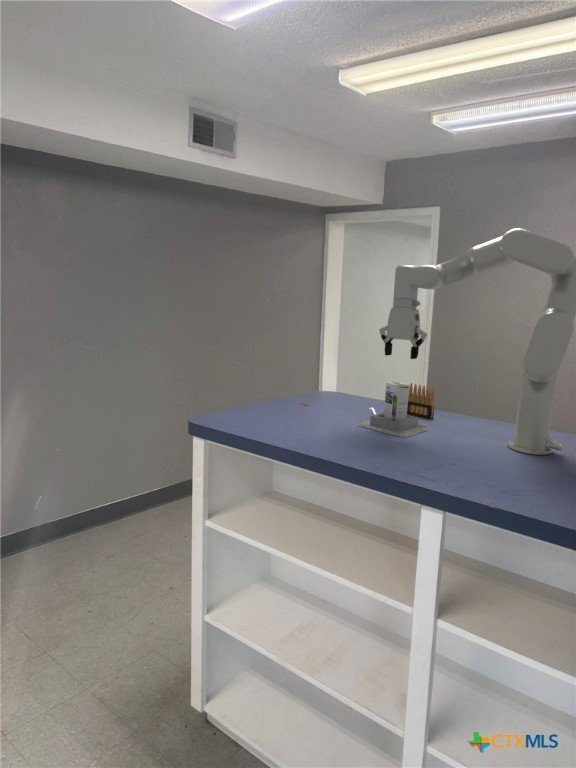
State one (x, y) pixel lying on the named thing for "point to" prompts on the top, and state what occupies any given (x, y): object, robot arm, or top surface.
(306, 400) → the top surface
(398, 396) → the syrup box
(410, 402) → the ammunition clip
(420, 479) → the top surface
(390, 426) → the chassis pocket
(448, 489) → the top surface
